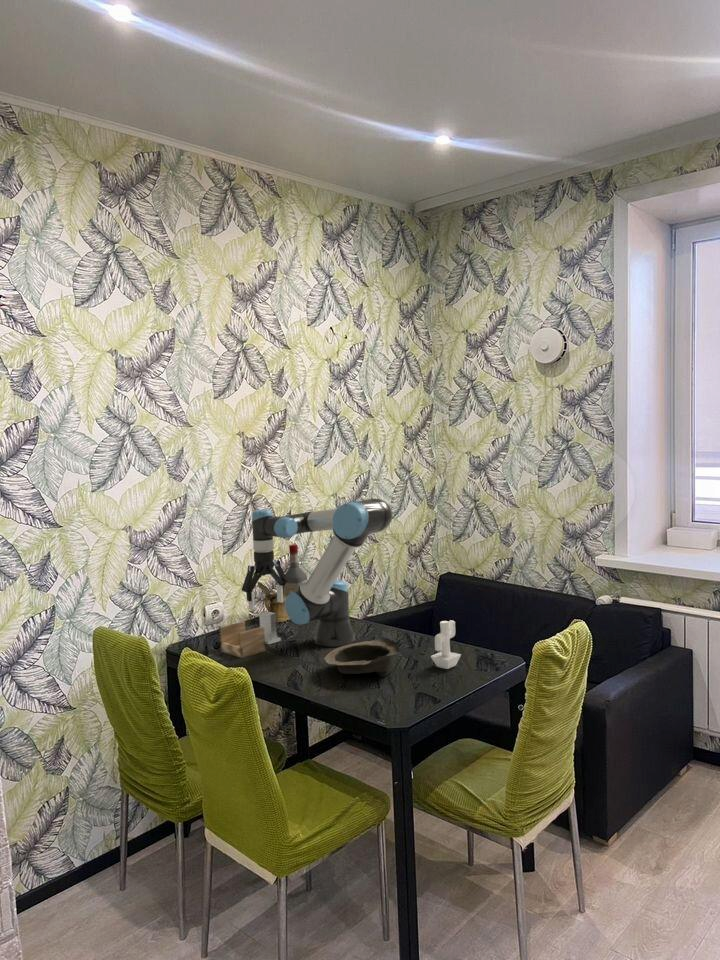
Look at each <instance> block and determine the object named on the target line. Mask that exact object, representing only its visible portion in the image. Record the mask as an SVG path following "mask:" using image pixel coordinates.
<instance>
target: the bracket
mask: <svg viewBox="0 0 720 960" xmlns="http://www.w3.org/2000/svg"><path fill="white" fill-rule="evenodd" d="M258 614H259V617H258V618H259V627H262V626H263V627H264V634H265V645H271V644H275V643H277V642H281V641H282V638H281V637H279V636H278V634H277V623H276V614H275V613H272V612H268V610H261V611H259V612H258Z"/></svg>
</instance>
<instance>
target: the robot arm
mask: <svg viewBox="0 0 720 960" xmlns="http://www.w3.org/2000/svg"><path fill="white" fill-rule="evenodd" d="M392 519H393V511H392V508H391V506H390V504H388V502H387V501H385V500H384V499H380V498H369V499H365V500H364V499H363V500H357V501H355V500H353V501H349V502H346V503H344V504H343V503H342V504H341V505H338V508H332V509H323V510H317V511H315V510H313V511H305V512H300V513H295V514H289V515H284V516H283V515H282V516H274V515H273V512H272V510H270V509H255V510H253V511H252V513H251V526H252V528H251V529H252V545H253V561H254V565H248V566H247V571H246V575H245V578H244V582H243V583H242V584H243V585H242V586H241V592H243V593H246V601H247V602H248V610H251V611H254V610H255V593H254V592H253V591H254V589H255V587H256V585H258V582H259V580H260V579H261V578H262V577H265V576H266V575H267V576H269V575H270V576H271V577H272V578H273V580H274V581H275V582H276V583H277V585H276V593H277V602H281V603H283V593H284V586H285V585H286V583H287V582H288V580H287V578H286V575H285V573H286V572H284V570H283V567H282V564H281V561H280V560H277V559H275V555H274V554H275V551H274V537H276V538H283V539H285V538H286V539H287V538H288V539H291V538H293V537H294V536H295V535H298V534H304V533H305V534H306V533H311V532H312V533H313V532H322V531H332V533H333V536H332V537H331V540H330V541H329V542H328V544H327V546H326V548H325V550H324V551H323V553H322V555H321V557H320V558H319V560H318V562H317V563H316V566H314V568H313V570H312V573H311V574H310V576H309V577H308V578H307V580H304V581H303V582H302V583H301V584H300V586H299V588H298V590H297V591H296V592H295V593H291V594H289V595H288V596H287V597H286V599H285V608H286V613H287V615H288V617H289V618H290V619H289V620H290V621H291V622H292V623H293V624H296V625H299V626H301V625H304V624H305V625H307V624H309V623H313V622H314V621H318V622H317V627H316V630H315V634H314V643H315V645H318V646H321V647H329V648H331V647H332V648H334V647H335V648H337V647H342V646H346V645H349V644H354V642H355V641H356V635H355V634H356V633H355V631H354V630H353V629H354V628H353V626H352V624H351V620H350V608H349V607H350V606H349V589H348V588H349V587H348V583H347V582H346V581H344V580H340V579H338V578H339V576H340V574H341V573H342V571H343V569H344V567H345V566H346V564H347V563H348V561H349V560H350V558H351V556H352V554H353V553H354V551H355V550H356V548H361V547H362V546H363V545H364V543H365V542H366V540H367V539H368V537H369V536H370V535H372V534H375V533H376V534H377V533H380V532H382V531H384V530H386V529H387V528H388V527H389V526H390V525H391V523H392ZM274 567H275V569H274Z"/></svg>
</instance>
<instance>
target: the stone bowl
mask: <svg viewBox="0 0 720 960" xmlns="http://www.w3.org/2000/svg"><path fill="white" fill-rule="evenodd" d="M396 654H400V649H399V642H398V641H394V640H391V639H390V638H388V637H378V638H376V639H372V640H371V641H367V640H366V641H365V640H364V641H360V642H355V643H354V642H353V643H351V644H348V645H344V646H338V647H335V648H334V649H333V650H332V651H330V652H329V653H327V655H326V656H325V657H324V659H323V660H325V662H326V664H328V665H335V666H336V668H337V669H338V671H339V672H340V673H341V674H343V675H351V674H353V675H356V674H357V675H358V674H359V675H360V674H366V673H367V674H369V673H373V672H374V673H375V674H377V675H378V676H379V677H384V678H385V677H387V676H388V675H389V674H390V673H391V672H393V669H394V666H395V665H394V664H395V663H394V657H393V656H394V655H396Z"/></svg>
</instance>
